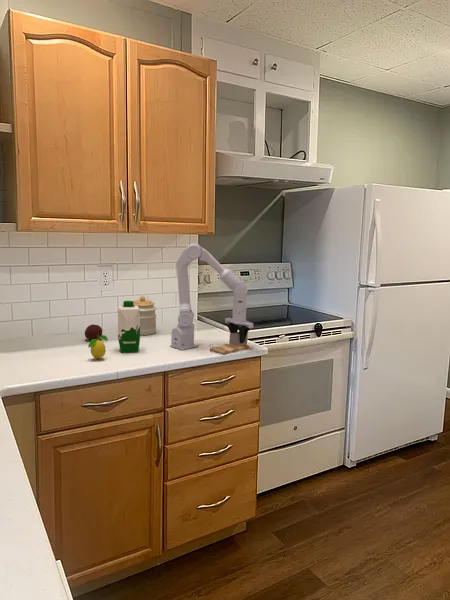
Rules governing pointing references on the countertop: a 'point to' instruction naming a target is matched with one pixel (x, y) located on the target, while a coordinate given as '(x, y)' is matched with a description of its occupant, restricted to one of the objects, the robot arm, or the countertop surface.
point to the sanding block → (236, 339)
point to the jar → (146, 316)
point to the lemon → (98, 347)
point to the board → (228, 349)
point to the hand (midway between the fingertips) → (238, 341)
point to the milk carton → (128, 327)
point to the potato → (93, 332)
